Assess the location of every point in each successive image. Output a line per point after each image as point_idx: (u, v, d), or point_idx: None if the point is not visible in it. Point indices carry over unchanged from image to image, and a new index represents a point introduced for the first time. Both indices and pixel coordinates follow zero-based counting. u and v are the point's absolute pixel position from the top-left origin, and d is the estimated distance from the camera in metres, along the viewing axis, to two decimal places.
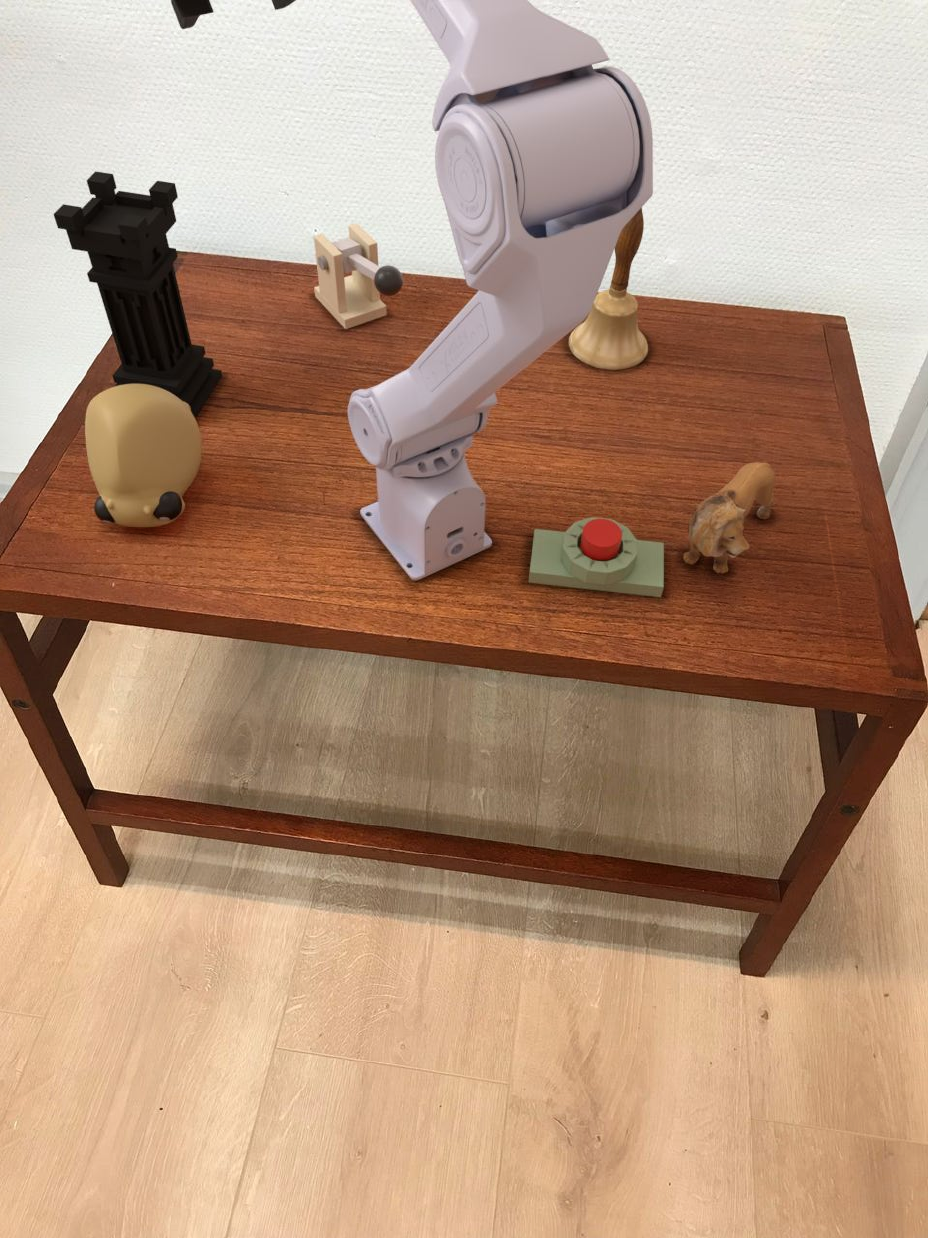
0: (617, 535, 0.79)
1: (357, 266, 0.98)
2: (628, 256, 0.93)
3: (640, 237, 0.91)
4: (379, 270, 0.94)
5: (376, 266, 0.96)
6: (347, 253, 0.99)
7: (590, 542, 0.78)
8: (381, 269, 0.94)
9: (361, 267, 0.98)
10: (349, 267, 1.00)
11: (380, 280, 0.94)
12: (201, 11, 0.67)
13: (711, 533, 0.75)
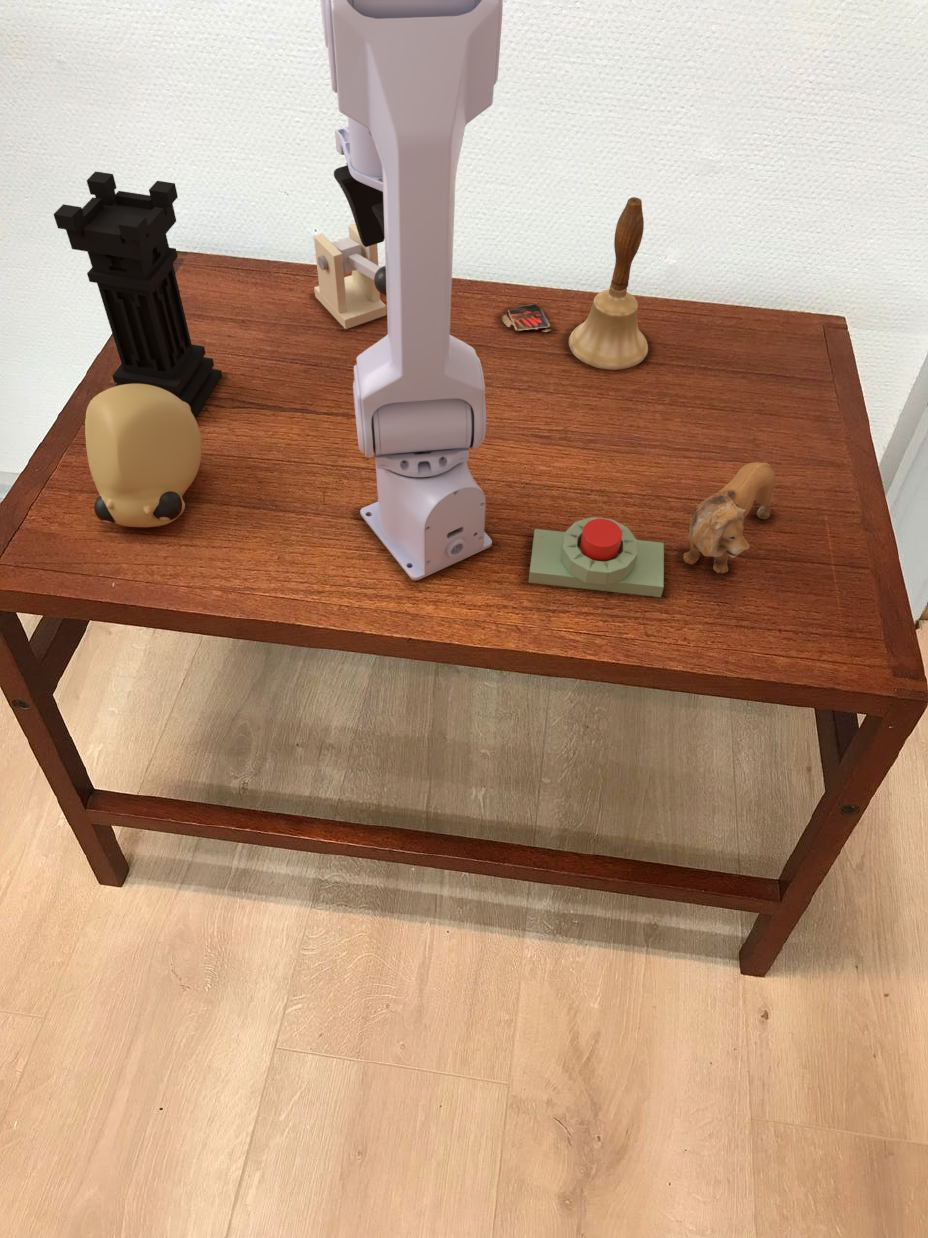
0: (617, 535, 0.79)
1: (357, 266, 0.98)
2: (628, 256, 0.93)
3: (640, 237, 0.91)
4: (379, 270, 0.94)
5: (376, 266, 0.96)
6: (347, 253, 0.99)
7: (590, 542, 0.78)
8: (381, 269, 0.94)
9: (361, 267, 0.98)
10: (349, 267, 1.00)
11: (380, 280, 0.94)
12: (339, 176, 0.88)
13: (711, 533, 0.75)
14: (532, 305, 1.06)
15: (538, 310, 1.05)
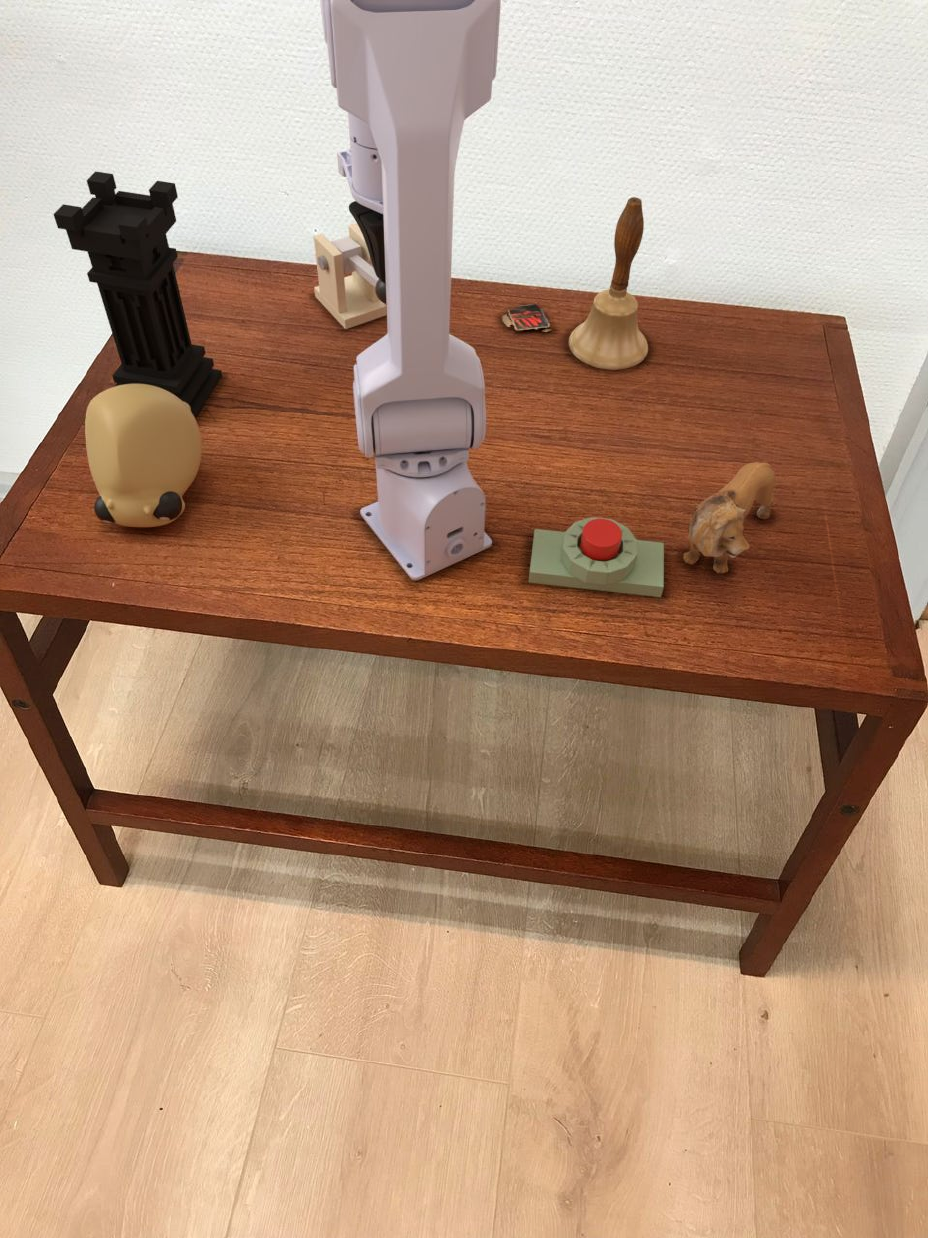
0: (617, 535, 0.79)
1: (358, 270, 0.98)
2: (628, 256, 0.93)
3: (640, 237, 0.91)
4: None
5: None
6: (348, 254, 0.99)
7: (590, 542, 0.78)
8: None
9: (362, 272, 0.98)
10: (349, 268, 1.00)
11: (381, 290, 0.94)
12: (354, 210, 0.89)
13: (711, 533, 0.75)
14: (532, 305, 1.06)
15: (538, 310, 1.05)
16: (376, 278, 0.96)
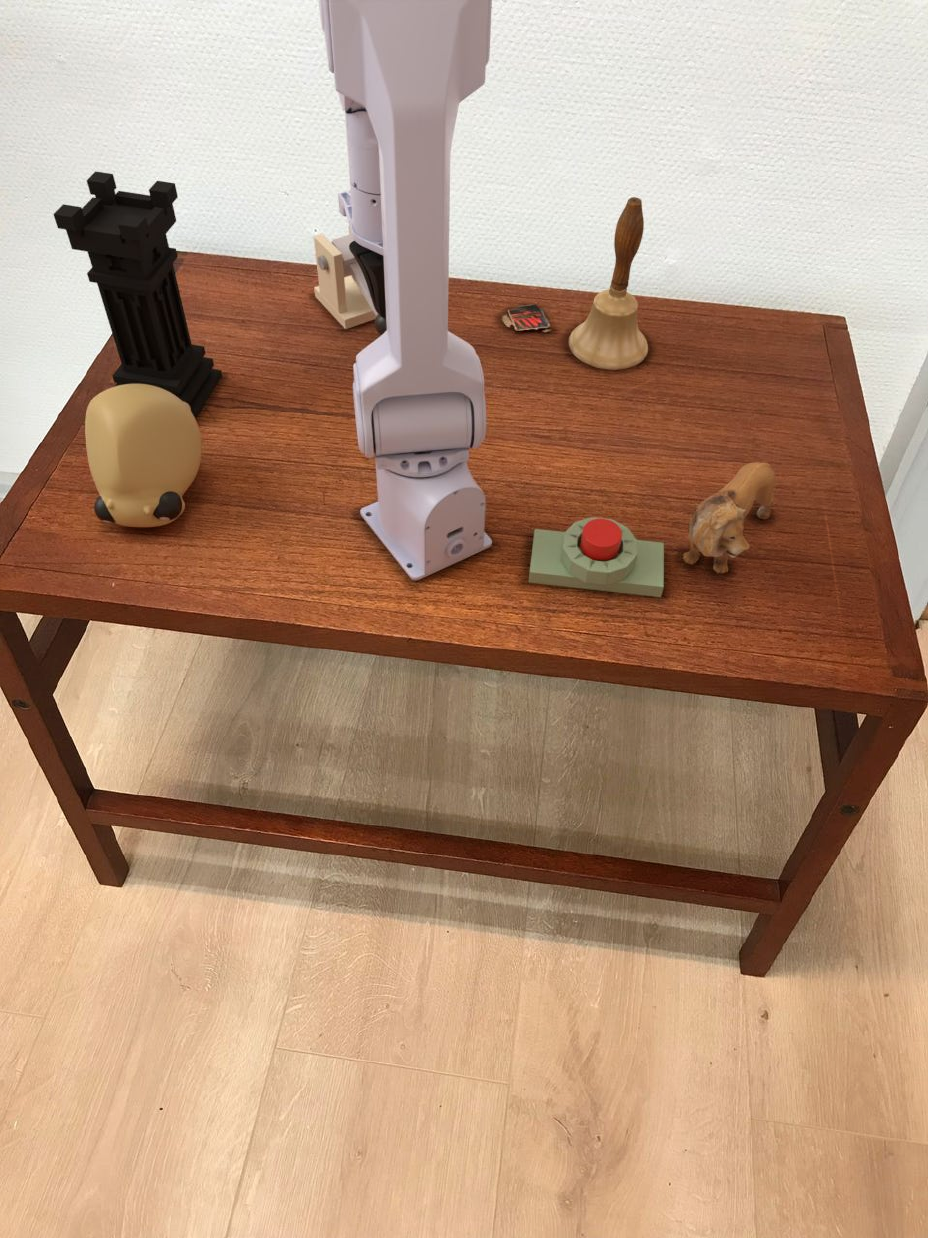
0: (617, 535, 0.79)
1: (357, 283, 1.00)
2: (628, 256, 0.93)
3: (640, 237, 0.91)
4: None
5: None
6: (349, 262, 1.00)
7: (590, 542, 0.78)
8: (385, 317, 0.98)
9: (362, 289, 1.00)
10: (347, 271, 1.01)
11: (382, 328, 0.98)
12: (354, 250, 0.92)
13: (711, 533, 0.75)
14: (532, 306, 1.06)
15: (538, 310, 1.05)
16: None
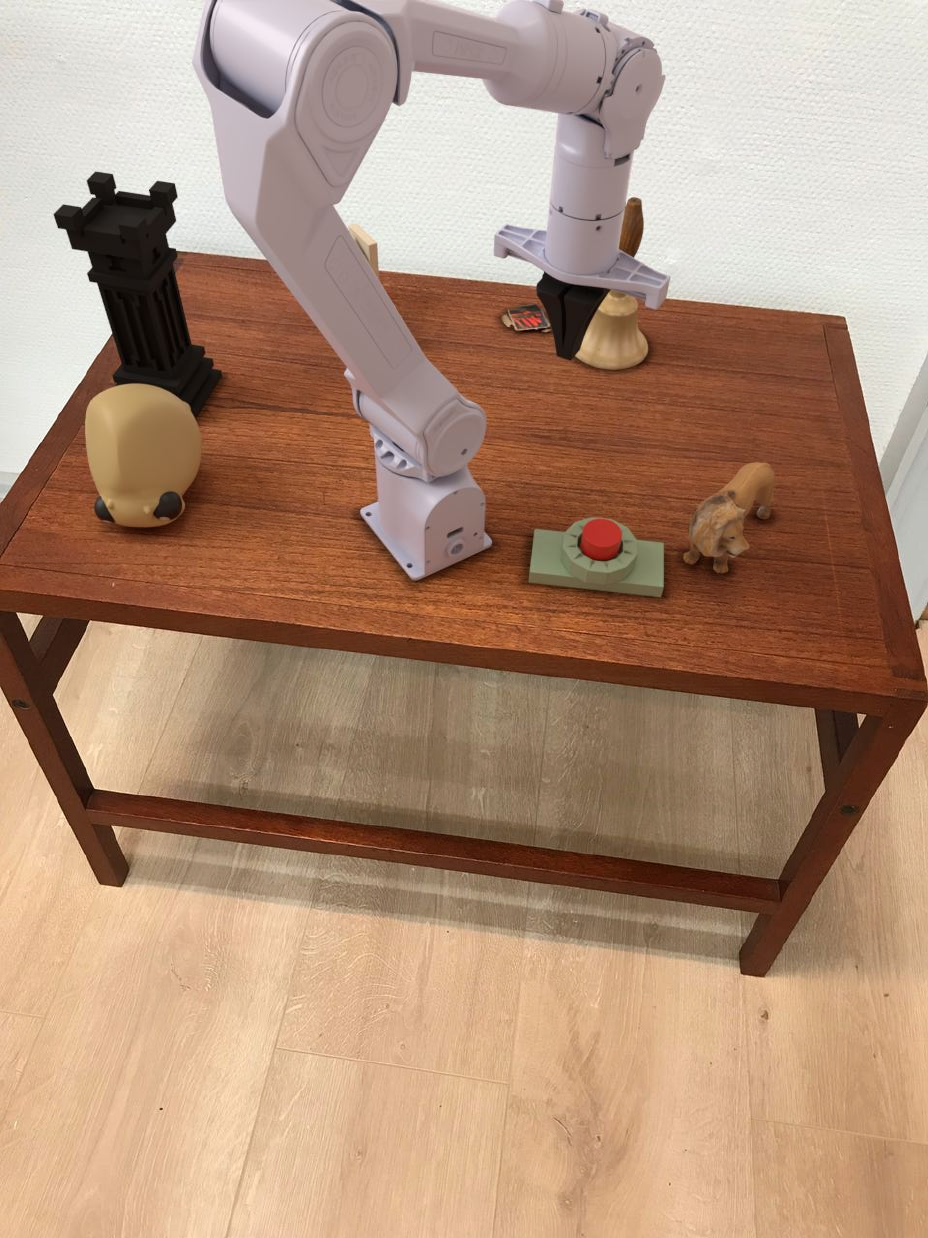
0: (617, 535, 0.79)
1: None
2: None
3: (640, 237, 0.91)
4: None
5: None
6: None
7: (590, 542, 0.78)
8: None
9: None
10: None
11: None
12: (550, 292, 0.78)
13: (711, 533, 0.75)
14: (532, 305, 1.06)
15: (538, 310, 1.05)
16: None
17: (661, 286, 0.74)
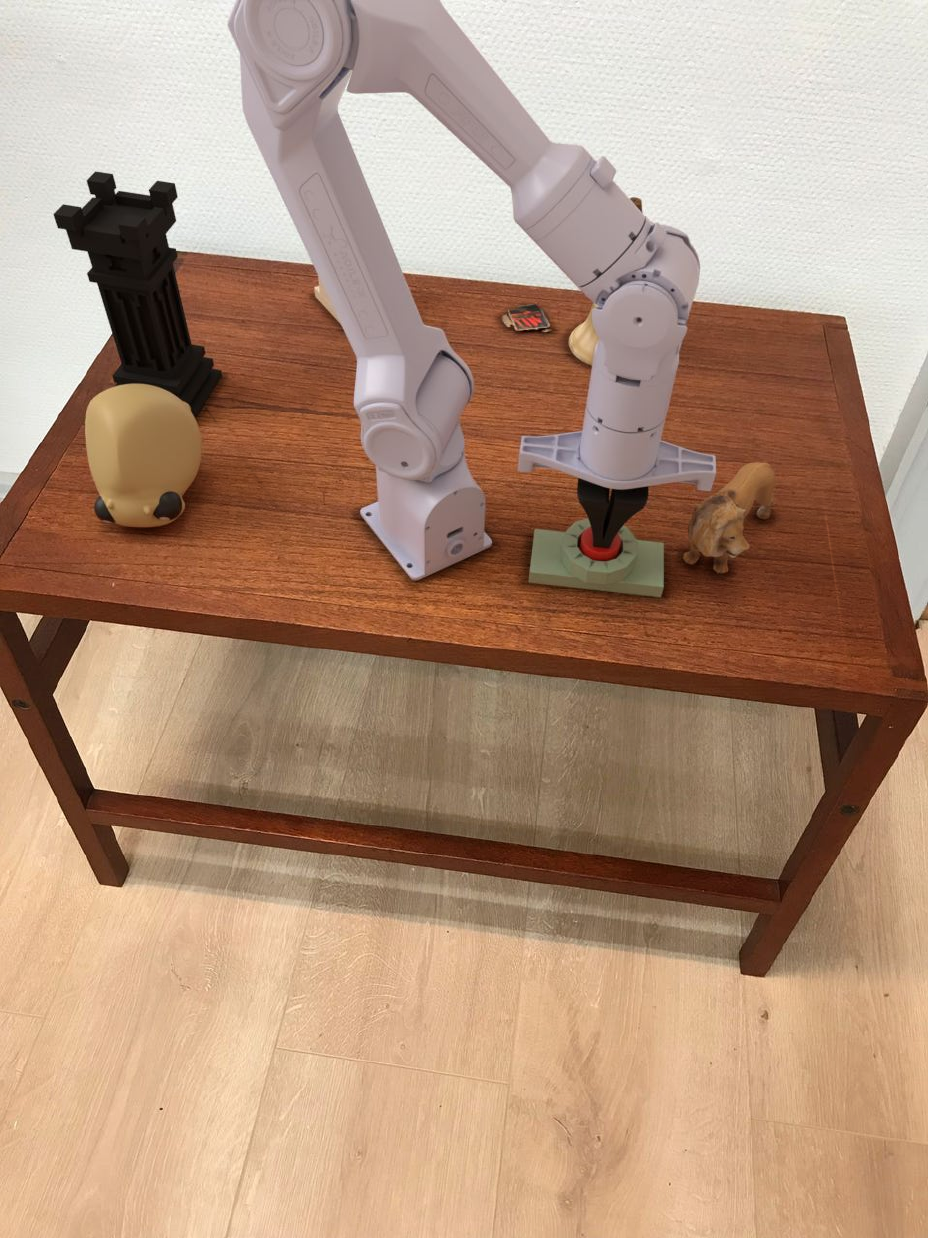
0: (616, 541, 0.80)
1: None
2: None
3: None
4: None
5: None
6: None
7: (589, 548, 0.79)
8: None
9: None
10: None
11: None
12: (597, 499, 0.73)
13: (711, 533, 0.75)
14: (532, 305, 1.06)
15: (538, 310, 1.05)
16: None
17: (715, 470, 0.72)
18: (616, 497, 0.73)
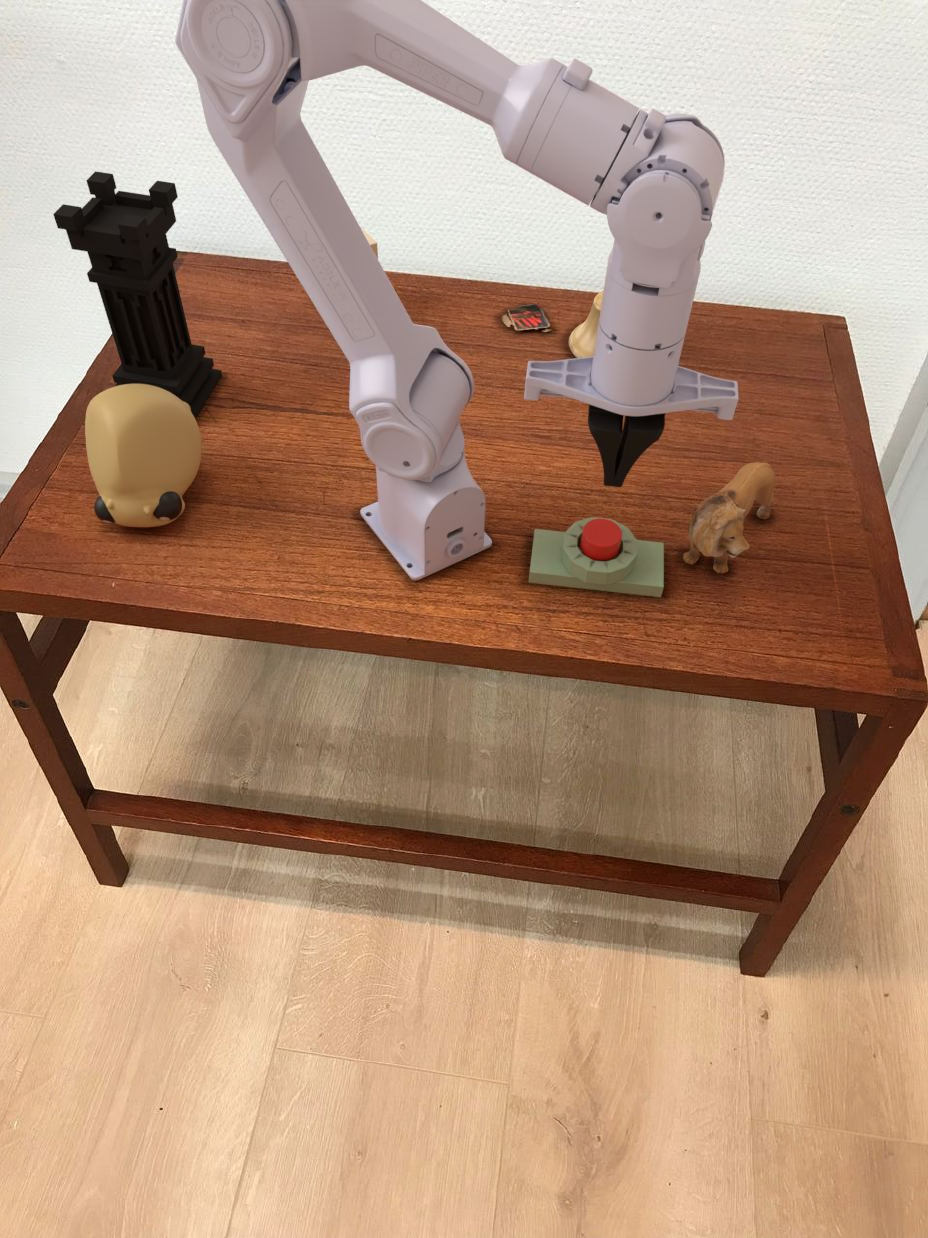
0: (617, 535, 0.79)
1: None
2: None
3: None
4: None
5: None
6: None
7: (590, 542, 0.78)
8: None
9: None
10: None
11: None
12: (609, 429, 0.67)
13: (711, 533, 0.75)
14: (532, 305, 1.06)
15: (538, 310, 1.05)
16: None
17: (737, 396, 0.66)
18: (630, 426, 0.67)
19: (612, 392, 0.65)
